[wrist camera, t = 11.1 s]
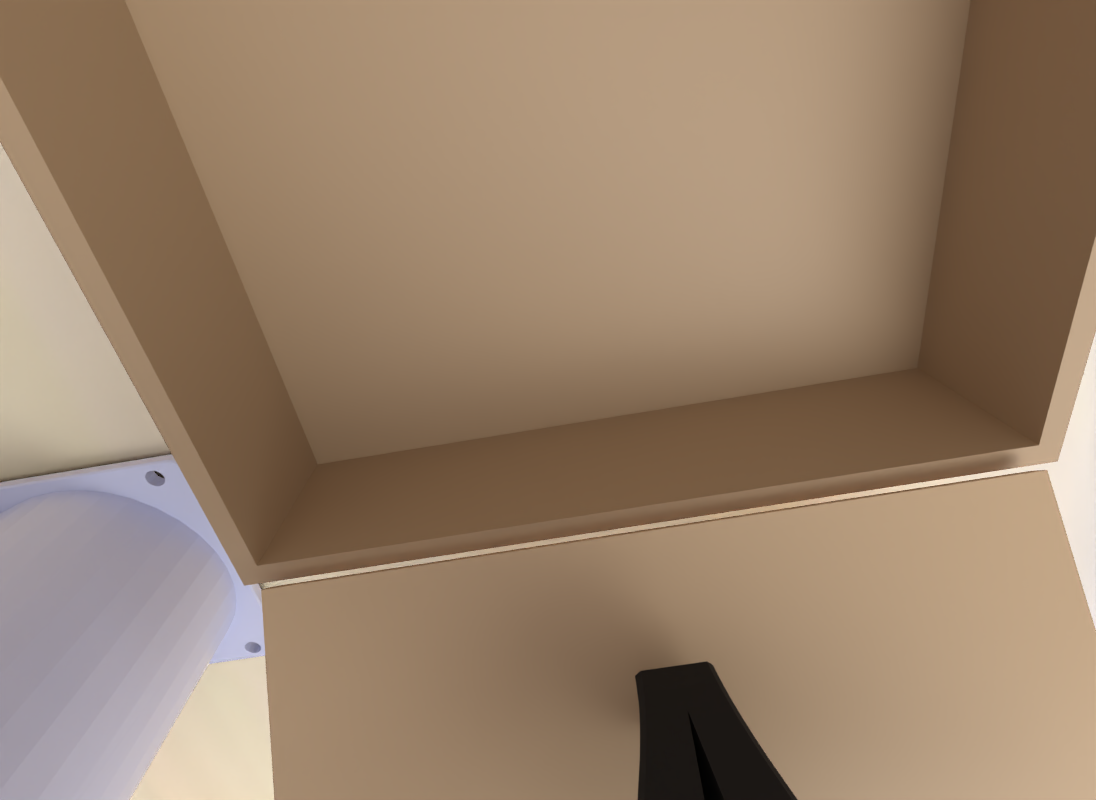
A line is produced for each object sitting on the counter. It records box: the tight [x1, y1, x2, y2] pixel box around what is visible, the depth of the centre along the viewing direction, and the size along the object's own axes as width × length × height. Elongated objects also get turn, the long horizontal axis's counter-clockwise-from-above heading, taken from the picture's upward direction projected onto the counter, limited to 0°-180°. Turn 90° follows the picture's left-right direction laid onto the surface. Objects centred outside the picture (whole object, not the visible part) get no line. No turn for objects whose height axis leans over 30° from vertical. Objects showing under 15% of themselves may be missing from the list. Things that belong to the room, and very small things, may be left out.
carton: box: [0, 0, 1096, 586], centre depth 11 cm, size 18×17×4 cm
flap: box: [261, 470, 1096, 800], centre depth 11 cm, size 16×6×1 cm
